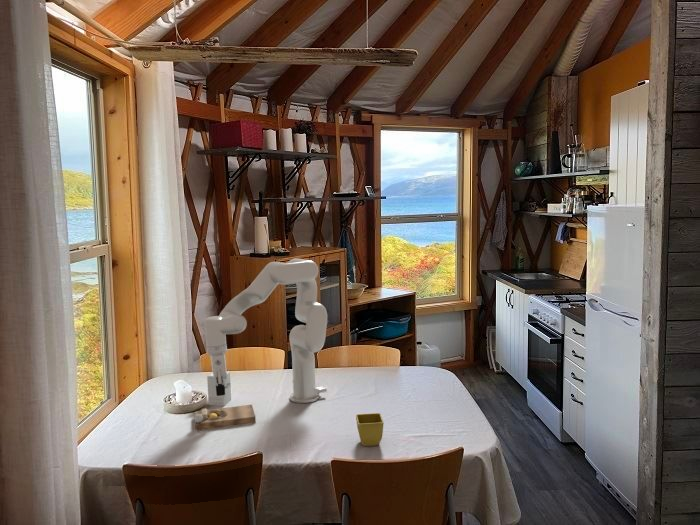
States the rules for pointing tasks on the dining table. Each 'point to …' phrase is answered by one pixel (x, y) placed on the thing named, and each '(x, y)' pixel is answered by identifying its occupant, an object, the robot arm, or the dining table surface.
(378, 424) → the flower pot
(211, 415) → the ball
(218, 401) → the supplement box
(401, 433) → the dining table surface
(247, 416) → the board
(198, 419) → the grey ball
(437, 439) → the dining table surface
